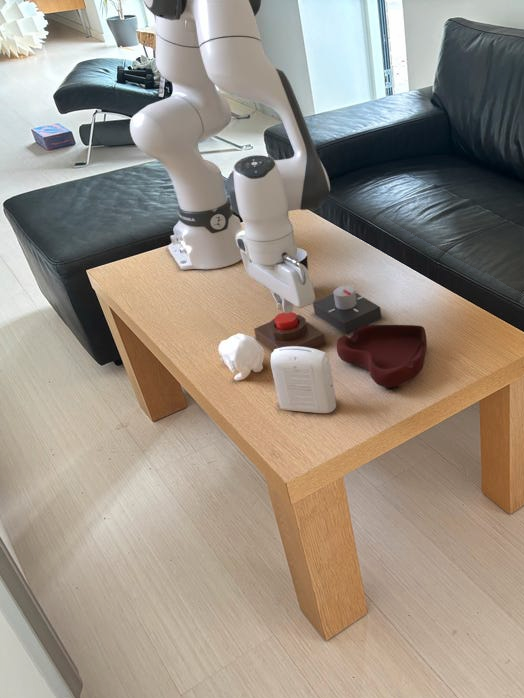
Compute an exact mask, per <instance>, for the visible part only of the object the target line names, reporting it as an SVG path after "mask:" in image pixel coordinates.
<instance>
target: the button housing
mask: <svg viewBox="0 0 524 698" xmlns="http://www.w3.org/2000/svg"><path fill="white" fill-rule="evenodd" d="M296 315H297V318H298V326H297V327H295V328H293V329H290V330H279V329H277V328H276V324H275V317H274V318H273V319H271V321H269V322H267V323H264V324H261V325H259V326H257V327H255V328H253V331H254V335H255V340H256V341H257V342H258V343H259V344H262V345H263V346H264V347H266V348H267V349H268V350H269V351H271V353H272V352H273V351H274V350H275V349H278V348H282V347H290V346H298V347H308V348H313V349H317V350H318V349H319V348H321V347H325V346H326V344H327V343H326V338H325V337H326V336H325V333H323V332H322V331H321V330H319V329H318V328H317V327H315V326H313V325H312V324H311V323H309V322H307V320H306V318H305V317H304V316H303V315H301V314H296Z"/></svg>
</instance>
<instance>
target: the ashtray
mask: <svg viewBox="0 0 524 698" xmlns="http://www.w3.org/2000/svg"><path fill="white" fill-rule="evenodd" d="M352 333H353V334H352V335H351V336H350V337H349V336H348V335H346V334H344V335H342V336H340V337H339V338H338V339H337V341H336V353H337V356H338V357H339V358H340V360H341V361H343V362H344V363H347V364H350V365H352V366H359V367H362V368H363V369H365V370H366V371H368V372H369V376H370V378H371V379H372V380H373V382H374V383H375V384H376V386H377V385H378V386H380V387H383V388H385V389H386V390H389V391H390V390H393V391H394V390H397V389H398V388H399V387H400V386H402V385H404V384H406V383H408V382H410V381H411V380H413V379H414V378H415V377H416V376H417V375H418V374H420V372H421V371H422V370H423V367H424V364H425V360H426V354H427V348H428V347H427V345H428V340H427V339H428V338H427V332H426V329H425V327H424V326H422V325H416V324H415V325H414V324H412V325H411V324H369V325H366V326H364V327H361V328H359V329H358V330H356V331H354V332H352Z"/></svg>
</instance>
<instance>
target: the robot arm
mask: <svg viewBox="0 0 524 698" xmlns="http://www.w3.org/2000/svg"><path fill="white" fill-rule="evenodd" d="M143 3H144V6H145V8H147V10H149V11H150V13H151V14H153V15H154V16H155V66H156V69H157V71H158V72H159V73H160V74H161V76H162V77H163V78H164V79H165V80H167V81H168V82H170V83H171V84H172V93H171V95H170V96H169V97H167V98H164V99H161V100H158V101H155V102H153V103H150V104H147V105H145V107H143V108H142V109H140V110H139V111H137V112H136V113H135V114H134V115H133V116H132V117H131V119H130V121H129V132H130V136H131V139H132V141H133V143H134V144H135V146H136V147H137V148H138V149H139V150H140V151H141V152H142V153H144V154H145V155H146V156H149V157H151V158H154V160H156V161H157V162H159V163H160V164H161V165H162V167H163V168H164V169H165V171H166V173H167V174H168V176H169V178H170V180H171V183H172V186H173V189H174V193H175V196H176V199H177V202H178V203H177V205H178V207H177V209H178V211H177V214H178V220H177V221H178V222H177V223H176V224H175V225H174V226H173V230H172V231H173V234H172V235H170V236H169V239H170V241H171V243H169V244H168V245H167V248H168V251H169V253H170V254H171V256H172V257H173V259H174V261H175V262H176V264H177V265H178V267H179V268H180V269H181V270H183V271H186V270H216V269H221V268H222V269H223V268H226V267H229V266H233V265H234V264H237V263H239V262H240V261H242V262H243V266H244V269H245V272H246V273H247V275H248V277H250V278H252V279H253V280H254V281H256V282H257V283H259V284H260V285H263V286H264V287H265V288H267V290H270V293H271V295H272V298H273V299H274V300H275V303H276V307H277V309H279V310H280V311H281V312H282V313H286V314H287V313H290V312H293V311H294V307H296V308H298V309H303V308H305V307H307V306H310V305H313V303H314V302H315V301H316V294H315V290H314V287H313V286H314V285H313V282H312V279H311V276H310V273H309V269H308V270H307V269H306V267H305V266H304V265H302V264H301V263H300V262H299V260H297V259H295V258H293V257H294V256H295V255H296V253H297V248H298V247H297V241H296V238H295V237H296V236H295V232H294V231H295V230H294V227H293V224H292V221H291V220H290V217H289V212H292V211H297V210H298V211H299V210H300V211H307V210H309V211H310V210H318V209H319V208H320V207H322V206H323V205H324V204H325V202H326V201H327V200H328V199H329V197H330V195H331V184H330V183H331V182H330V178H329V175H328V172H327V170H326V168H325V167H324V164H323V163H322V160H321V159H320V157H319V155H318V152H317V149H316V148H315V147H316V146H315V144H314V142H313V139H312V136H311V134H310V131H309V128H308V125H307V123H306V120H305V117H304V115H303V112H302V109H301V107H300V104H299V102H298V99H297V97H296V94H295V92H294V90H293V86H292V85H291V82H290V80H289V79H288V77H287V75H286V73H285V72H284V71H283V70H282V69H279V68H276V67H275V66H273V64H272V62H270V60H269V59H268V57H267V55H266V54H265V51H264V48H263V43H262V39H261V35H260V31H259V27H258V23H257V20H256V16H257V14H258V13H259V11H260V8H261V4H262V0H143ZM218 89H220V90H221V91H223V92H224V93H226V94H229V95H230V96H234V97H235V98H239V99H241V100H242V99H243V100H247V101H251V102H255V103H259V104H261V105H263V106H267V107H269V108H270V109H272V110H274V112H276V113H277V114H278V116H279V117H280V119H281V121H282V123H283V126H284V129H285V132H286V134H287V137H288V139H289V142H290V145H291V147H292V149H293V153H294V154H293V156H292V157H289V158H283V159H275V160H274V159H273V158H271V157H269V156H266V155H262V154H261V155H260V154H259V155H258V154H256V155H255V154H254V155H248V156H245V157H243V158H241V159H239V160H238V161H237V162H236V163H235V164H234V165H233V170H231V173H230V174H229V176H228V177H227V179H226V187H227V191H228V195H229V197H228V196H227V191H226V187H225V182H224V178H223V174H222V171H221V168H220V167H219V166H218V165H217V164H216V163H214V162H213V161H210V160H209V159H208V160H207V159H204V157H203V156H202V154H201V152H200V149H199V144H201V143H202V142H205V141H207V140H210V139H212V138H214V137H216V136H218V135H219V134H220V133H221V132H222V131H224V130H225V129H226V128H227V127H228V126H229V125H230V124H231V121H232V109H231V105H230V103H229V101H228V100H227V98H226V97H225V95H224V94H223V93H222V92H221V91H220V90H218ZM234 213H236V214H237V215H238V216H239V217H240V218H241V219H242V222H243V226H242V224H241V220H240V218H239V217H238V216H236V215H235V214H234ZM293 306H294V307H293Z"/></svg>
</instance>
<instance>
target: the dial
mask: <svg viewBox="0 0 524 698" xmlns="http://www.w3.org/2000/svg"><path fill="white" fill-rule="evenodd" d="M355 293H356V290H355V287H353V286H349V285H344V286H338V287H337V288H335V289H334V290H333V294H334V299H335V305H336V307H337V308H338V309H342V310H346V309H351V308H353V307H355V306H356V304H357V303H356V296H355Z"/></svg>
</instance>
